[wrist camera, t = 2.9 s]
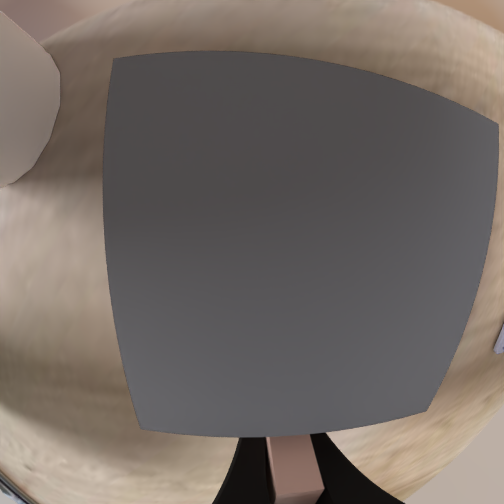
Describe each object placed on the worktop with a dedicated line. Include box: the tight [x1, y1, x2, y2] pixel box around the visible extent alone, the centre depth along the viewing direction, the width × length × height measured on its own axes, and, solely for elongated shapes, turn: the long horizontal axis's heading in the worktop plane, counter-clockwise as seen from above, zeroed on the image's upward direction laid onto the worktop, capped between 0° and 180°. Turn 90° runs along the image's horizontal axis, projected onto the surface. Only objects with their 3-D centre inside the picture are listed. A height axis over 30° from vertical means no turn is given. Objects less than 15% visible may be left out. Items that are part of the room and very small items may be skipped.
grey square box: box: [103, 51, 499, 437], centre depth 8 cm, size 8×8×5 cm
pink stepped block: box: [265, 434, 324, 504], centre depth 7 cm, size 4×10×5 cm, turn 176°
